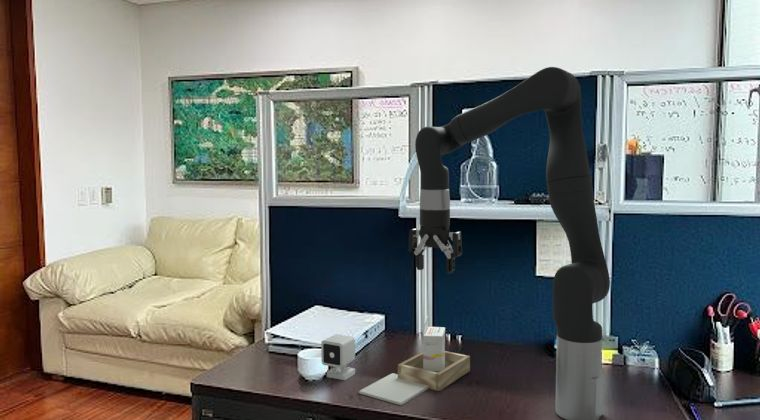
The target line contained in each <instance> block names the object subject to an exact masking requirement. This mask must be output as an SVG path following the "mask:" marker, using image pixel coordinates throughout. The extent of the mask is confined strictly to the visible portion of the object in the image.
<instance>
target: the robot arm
mask: <svg viewBox="0 0 760 420" xmlns="http://www.w3.org/2000/svg"><path fill="white" fill-rule="evenodd" d="M581 92H582V91H581V85H580V83H579V81H578V79H577V77H576V76H575V75H574V74H572V73H571V72H569V71H567V70H565V69H562V68H560V67H557V66H549V67H547V66H546V67H545V68H541V69H540V70H538V71H537V72H534V73H533V74H532V75H530V76H529V77H527V78H526V79H525V80H523V81H522V82H520V83H518V84H517V85H516V86H514V87H512V88H511V89H509V90H507V91H506V92H504V93H502V94H500V95H499V96H497V97H495V98H493V99H491V100H488V101H487V102H485V103H482V104H481V105H478V106H476V107H474V108H471V109H469V110H467V111H465V112H463V113H462V112H461V113H460V114H458V115H456V116H455V117H453V118H452V119H451V121H450V122H449V123H447V124H445V125H443V126H442V125H441V126H424V127H423V128H421V129H420V130H419V131H418V133H417V134H416V139H415V144H414V145H415V154H416V158H417V162H418V167H419V170H420V192H419V193H420V195H419V225H420V229H418V228H410V229H409V231H408V232H409V233H408V252H409V253H412V254H414V255H415V267H416V270H418V271H422V270H424V268H425V266H424V265H425V263H424V262H425V259H424V258H425V257H424V256H425V255H424V254H423V253H424V252H426V249H427V248H434V249H440V250H441V252H443V253H444V255H445V256H446V264H445V265H446V267H445V269H446V271H445V272H446V274H449V275H450V274H453V273H454V271H455V268H456V259H457V257H461V256H462V255H463V240H462V232H461V231H456V232H453V231H452V232H451V231H450V225H451V198H450V197H451V196H450V172H449V168H448V167H447V166H445V165H444V164H443V161H442V156H443V155H447V154H451V153H452V152H454V151H456V150H458V149H460V148H461V147H463V146H464V145H466V144H468V143H471V142H474V141H477V140H479V139H481V138H483V137H486V136H488V135H489V134H492V133H494V132H495V131H497V130H498V129H500V128H501V127H502V126H505V125H506V124H507V123H508V122H510V121H512V120H514V119H516V118H518V117H520V116H523V115H526V114H529V113H534V112H538V111H542V110H543V111H544V113H545V117H546V122H547V127H548V133H549V144H548V146H549V147H548V153H547V159H546V165H545V166H546V168H545V180H546V188H547V195H548V201H549V205H550V207H551V210H552V212H553V214H554V216H555V217H556V219H557V221H558V223H559V224H560V226H561V228H562V229H563V231H564V233H565V235H566V238H567V242H568V244H569V252H570V260H571V263H569V264H565V265H562V266H560V267H559V268H558V269H557V270H556V272H555V274H554V276H553V281H552V315H553V322H554V324H555V326H556V356H555V358H556V359H555V360H556V363H555V364H556V365H555V366H556V367H555V368H556V370H555V402H554V403H555V414H556V415H557V416H559V417H560V418H562V419H564V420H600V418H601V417H602V415H603V414H604V391H605V390H604V385H605V384H604V383H605V371H603V370H602V358H603V356H602V354H603V353H602V352H603V349H602V348H603V328H602V325H601V324H600V322H598V321H595V320H594V310H593V309H594V308H593V306H594V305H593V304H595V303H599V302H601V301H602V300H604V299H605V298H606V297H607V296H608V294H609V291H610V288H611V287H610V286H611V279H610V273H609V268H608V265H607V260H606V256H605V254H604V253H605V252H604V249H603V246H602V242H601V238H600V233H599V232H600V231H599V225H598V217H597V213H596V212H597V211H596V206H595V198H594V197H595V196H594V189H593V181H592V176H591V170H590V165H589V158H588V152H587V148H586V141H585V137H584V132H583V121H582V120H583V119H582V118H583V117H582V113H583V112H582V93H581ZM419 237H420V238H421V240H420V242H419V241H418V240H419ZM449 240H451V241H452V245H451V243H450V241H449ZM418 242H419V243H418Z"/></svg>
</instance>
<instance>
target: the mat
mask: <svg viewBox="0 0 760 420" xmlns="http://www.w3.org/2000/svg"><path fill="white" fill-rule="evenodd" d="M428 389H430V388H429V386H427V385H423V384H419V383H415V382H412V381H408V380H404V379H400V378H398V373H393V372H392V373H390V374H388V375H386V376H384V377H383V378H380V379H378V380H376V381H375V382H373V383H371V384H369V385H367V386H366V387H364V388H362V389H360V390H358V393H359V394H360V395H364V396H366V397H367V396H368V397H370V398H374V399H378V400H381V401H384V402H389V403H391V404H395V405H399V406H402V405H405V404H406V403H407V402H409V401H411V400H412V399H414V398H416V397H417V396H419V395H420V394H422V393H423V392H425V391H427V390H428Z"/></svg>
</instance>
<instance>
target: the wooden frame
mask: <svg viewBox="0 0 760 420" xmlns="http://www.w3.org/2000/svg"><path fill="white" fill-rule="evenodd" d="M470 371H471V355H468V354H467V355H466V354H463V353H457V352H451V351H448V350H445V369H443V370H441V371H440V372H438V373H437V372H433V371H429V370H424V369H423V351H422V352H419V353H418V354H416V355H414V356H411V357H410V358H408V359H406V360H404V361H402V362H400V363H399V364H397V374H398V378H400V379H404V380H408V381H412V382H415V383H419V384H423V385H427V386H429V388H428V389H431V390H433V391H438V392H440V391H442V390H443V389H445V388H447V387H448V386H450V384H451V385H452V383H454V382H456V381H457V380H458V379H460V378H461V377H463V376H465V375H466V374H468V373H469V372H470Z"/></svg>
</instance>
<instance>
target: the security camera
mask: <svg viewBox="0 0 760 420" xmlns="http://www.w3.org/2000/svg"><path fill="white" fill-rule="evenodd" d="M320 345H321V346H320V347H321V349H320V350H321V364H322V365H323V366H327V367H328V366H329V367H333V368H331V369H328V371H326V378H330V379H335V380H341V381H346V380H348V379H350V378H351V377H353V376H354V375H355V374H356V368H354V367H349V366H348V364H351V363H352V362H354V361H355V359H356V339H355V337H354V336H350V335H342V334H337V333H335V334H333V335H331V336H329V337H327V338H325V339H323V340H322V341H321V343H320Z"/></svg>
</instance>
